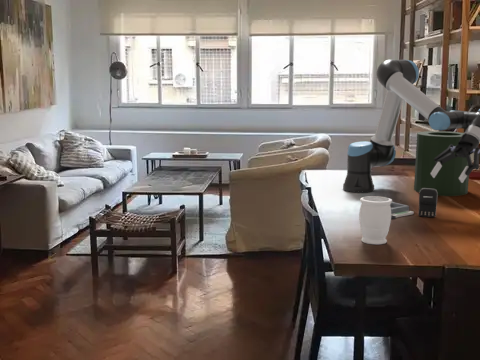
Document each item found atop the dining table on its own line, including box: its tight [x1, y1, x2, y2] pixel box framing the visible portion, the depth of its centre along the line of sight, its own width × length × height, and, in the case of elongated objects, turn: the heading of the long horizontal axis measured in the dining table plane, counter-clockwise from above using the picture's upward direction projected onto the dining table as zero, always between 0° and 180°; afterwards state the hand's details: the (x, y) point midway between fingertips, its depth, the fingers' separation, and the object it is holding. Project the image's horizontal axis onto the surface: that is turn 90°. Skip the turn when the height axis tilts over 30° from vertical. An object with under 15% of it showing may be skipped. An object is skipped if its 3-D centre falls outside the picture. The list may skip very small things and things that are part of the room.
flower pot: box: [413, 130, 470, 197], centre depth 286 cm, size 25×25×28 cm
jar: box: [358, 195, 393, 246], centre depth 200 cm, size 11×10×15 cm
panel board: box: [390, 201, 414, 218], centre depth 243 cm, size 14×12×3 cm
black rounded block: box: [418, 188, 438, 218], centre depth 235 cm, size 7×4×11 cm, turn 69°
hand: (446, 178), depth 239 cm, fingers open, 13 cm apart
